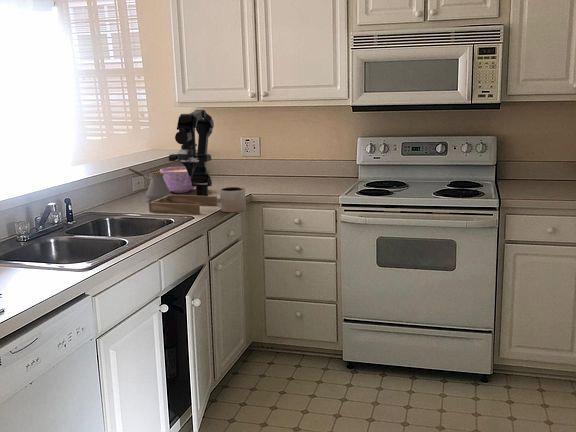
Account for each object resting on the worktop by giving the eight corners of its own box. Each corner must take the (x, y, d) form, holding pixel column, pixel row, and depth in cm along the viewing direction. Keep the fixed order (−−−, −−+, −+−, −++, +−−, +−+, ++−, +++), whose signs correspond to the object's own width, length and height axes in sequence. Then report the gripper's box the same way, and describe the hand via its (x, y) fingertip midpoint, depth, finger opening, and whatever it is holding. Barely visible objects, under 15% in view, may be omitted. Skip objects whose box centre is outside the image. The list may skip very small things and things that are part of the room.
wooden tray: (170, 203, 294) (169, 194, 293) (217, 205, 288) (216, 196, 287) (149, 211, 275) (148, 202, 275) (199, 214, 269) (198, 204, 268)
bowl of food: (203, 193, 318) (202, 170, 316) (163, 196, 313) (162, 172, 310) (197, 187, 337) (196, 165, 335) (159, 189, 331) (157, 167, 329)
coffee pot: (175, 198, 306) (173, 167, 303) (164, 202, 295) (162, 170, 292) (135, 196, 312) (133, 166, 309) (123, 201, 301) (121, 169, 298)
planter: (233, 207, 282) (232, 186, 280) (251, 210, 276) (250, 188, 274) (215, 211, 274) (214, 189, 272) (233, 214, 267) (232, 191, 265)
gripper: (161, 143, 278) (163, 178, 281) (200, 144, 273) (202, 180, 276) (173, 141, 288) (175, 175, 292) (211, 141, 283) (212, 176, 286)
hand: (190, 176), depth 286 cm, fingers closed
